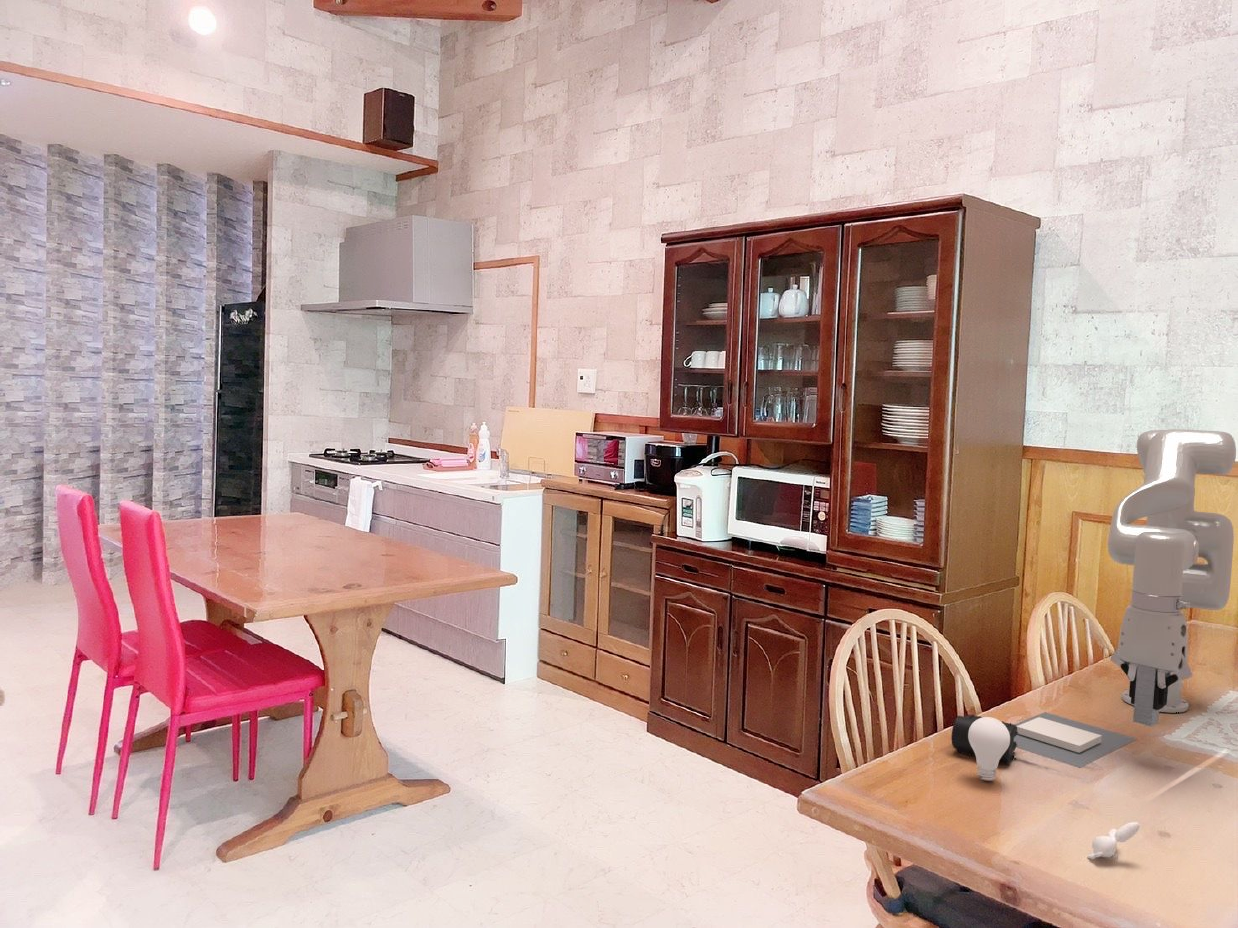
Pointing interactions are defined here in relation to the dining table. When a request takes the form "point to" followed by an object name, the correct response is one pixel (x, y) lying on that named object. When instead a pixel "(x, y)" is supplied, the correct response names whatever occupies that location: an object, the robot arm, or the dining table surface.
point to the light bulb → (988, 745)
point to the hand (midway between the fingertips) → (1147, 704)
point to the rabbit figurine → (1113, 840)
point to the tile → (1059, 734)
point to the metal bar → (1145, 696)
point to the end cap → (963, 744)
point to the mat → (1107, 745)
